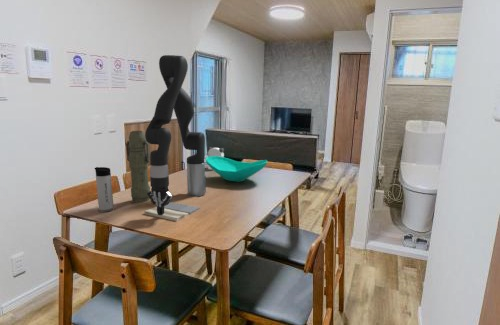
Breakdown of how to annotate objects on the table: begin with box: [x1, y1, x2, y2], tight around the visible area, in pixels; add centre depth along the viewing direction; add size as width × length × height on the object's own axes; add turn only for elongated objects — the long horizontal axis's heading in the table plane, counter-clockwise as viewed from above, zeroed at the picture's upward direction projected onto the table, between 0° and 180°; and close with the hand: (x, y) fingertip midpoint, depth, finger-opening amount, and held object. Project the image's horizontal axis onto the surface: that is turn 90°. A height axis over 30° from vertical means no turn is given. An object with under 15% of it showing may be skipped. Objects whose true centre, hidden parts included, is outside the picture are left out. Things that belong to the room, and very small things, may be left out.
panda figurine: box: [207, 146, 225, 171], centre depth 237 cm, size 12×11×15 cm
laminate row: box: [164, 201, 201, 215], centre depth 153 cm, size 8×18×2 cm, turn 64°
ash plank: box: [143, 206, 190, 222], centre depth 146 cm, size 8×18×2 cm, turn 64°
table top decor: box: [205, 156, 268, 183], centre depth 205 cm, size 40×28×13 cm
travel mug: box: [94, 166, 115, 213], centre depth 151 cm, size 6×7×20 cm
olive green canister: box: [125, 130, 151, 204], centre depth 162 cm, size 9×12×35 cm
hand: (160, 214), depth 142 cm, fingers closed
